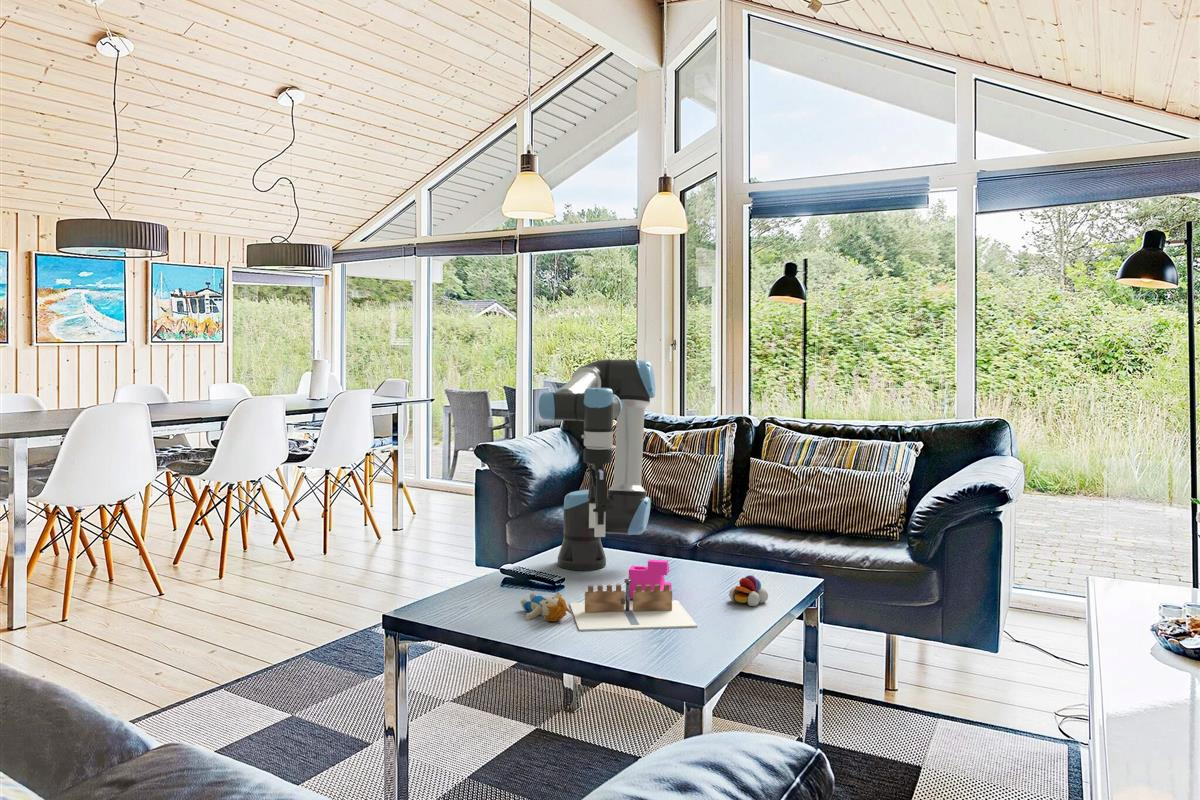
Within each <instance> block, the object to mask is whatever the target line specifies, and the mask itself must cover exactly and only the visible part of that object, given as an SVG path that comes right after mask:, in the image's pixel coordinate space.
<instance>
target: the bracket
mask: <svg viewBox="0 0 1200 800" xmlns="http://www.w3.org/2000/svg"><path fill="white" fill-rule="evenodd" d="M669 572H670V565H669V560H666V559H665V560H662V559H648V561H647V566H644V565H631V566H630V568H628V579H631V580H632V582H631V583H630V599H633V591H636V585H641V586H642V591H645V585H648V584H650V585H651V591H652V590H655V584H659V585H660V590H664V584H669V590H672V588H673V587H672V582H671V581H670V582H669V581H666V580H665V576H668V574H669Z"/></svg>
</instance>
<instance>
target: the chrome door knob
mask: <svg viewBox="0 0 1200 800" xmlns="http://www.w3.org/2000/svg"><path fill="white" fill-rule="evenodd" d="M631 582H632V580H631V579H629V578H625V579H624V583H625V602H626V611H629V610H630V602H631V601H630V600H631V598H630V583H631Z"/></svg>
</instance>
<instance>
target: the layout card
mask: <svg viewBox="0 0 1200 800" xmlns="http://www.w3.org/2000/svg"><path fill="white" fill-rule="evenodd" d="M569 606H570V608H571V611H572V612H571V613H572V615H573V618H574V621H575V624H576V626H577V628H578V631H579V632H587V631H591V632H592V631H593V632H594V631H618V630H619V631H620V630H648V629H649V630H650V629H651V630H653V629H673V628H674V629H679V628H680V629H681V628H684V629H685V628H697V627H698V624H697V623H696V622H695V620H693V618H692V617H691V615H690V614H689V612H687V610H686V609H685V608H684V606H683V605H682V604H681V602H680V601H679V600H678V599H676V600H675V599H674V600H673V599H672V610H658V611H633V600H632V601H630V610H629V611H626V601H625V604H624V611H609V612H585V602H571V603H569Z"/></svg>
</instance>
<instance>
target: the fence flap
mask: <svg viewBox="0 0 1200 800" xmlns="http://www.w3.org/2000/svg"><path fill="white" fill-rule="evenodd" d="M603 587H604V585H603V584H597V587H596V588H597V589H596V590H597V591H596V590H594V585H593V584H592V585H591V584H590V585H587V591H584V603H585V612H609V611H624V604H625V602H626V597H625V590H622V584H615V590H613V585H612V584H606V590H604V588H603Z"/></svg>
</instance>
